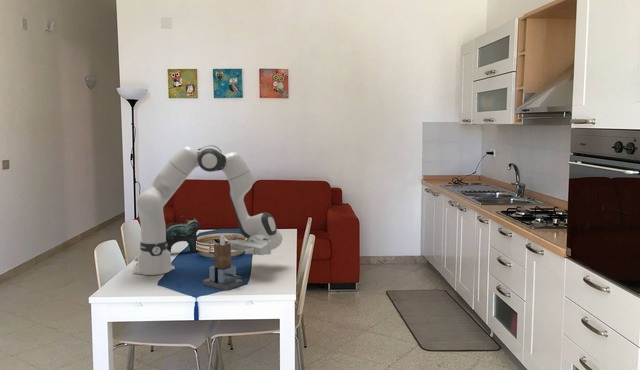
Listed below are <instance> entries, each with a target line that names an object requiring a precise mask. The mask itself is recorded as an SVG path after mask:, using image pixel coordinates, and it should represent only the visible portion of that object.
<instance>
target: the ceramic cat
mask: <svg viewBox="0 0 640 370" xmlns="http://www.w3.org/2000/svg"><path fill="white" fill-rule="evenodd" d="M183 217H186V218H187V219H185V223H178V222H176V224H175V222H172V223H169V224H167V225H166V241H167V250H168V251H169V252H170V253H171V254H172V248H173V246H174V245H175V244H177V243H180V242H186V243H187V245H188V247H189V251H190V252H191V253H197V252H196V241H197V242H198V235H197V233H198V231H199V230H200V223H199V222H198V219H197V217H194V218H193V220H189V218H188V216H187V215H182V216H180V219H182V218H183ZM173 224H174V225H173Z"/></svg>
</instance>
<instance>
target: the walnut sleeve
mask: <svg viewBox="0 0 640 370" xmlns="http://www.w3.org/2000/svg"><path fill="white" fill-rule="evenodd" d="M213 258H214V259H213V266H214V267H217V268H221V269H224V268H227V267H230V266H231V265H232V251H231V243H228V242H225V245H220V242H218V243H217V242H216V243H213Z"/></svg>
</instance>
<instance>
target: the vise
mask: <svg viewBox="0 0 640 370" xmlns="http://www.w3.org/2000/svg"><path fill="white" fill-rule="evenodd" d="M225 235H226V234H224V233H222V234H221V233H220V234H219V243H220V245H225V243H226V237H225ZM208 274H209V278H205V279H203V280H202V286H207V287H210V286H211V288H214V287H215V288H216V289H219V290H224V291H230V290H233V289H235V288H238V287H240V286H243V285H244V280H243V279H241V278H242V276H241V275H237V266H236V265H232V264H231V266H230V267H227V268H224V269H221V268H217V267H214V265H212V266H209V272H208ZM215 288H214V289H215Z"/></svg>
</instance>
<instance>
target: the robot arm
mask: <svg viewBox="0 0 640 370" xmlns="http://www.w3.org/2000/svg"><path fill="white" fill-rule="evenodd" d="M199 167H200V169H201V170H203V171H204V172H210V173H211V172H212V173H213V172H217V171H218V172H219V171H222V172H223V173H224V175H225V177H226V179H227V181H228V183H229V189H230V190H229V194H228V195H229V199H230V201H231V204H232V208H233V210H234V214H235V217H236V219H237V223H238V228H239V232H240V234H241V235H242V236H243V237H244V238H245V239H233V240H229V241H228V242H227V243H231V252H232V251H236V252H242V253H243V254H244V255H248V254H252V255H254V256H255V255H257V256H264V255H271V254H272V250H276V249H277V248H278V247H279V246H281V245H282V242H283V235H282V232H280V231H279V230H278V228H277V224H276V223H277V222H276V220H275V218H274V216H272V214H270V213H269V212H266V211H265V212H262V213H259V214H258V213H257V214H256V215H252V216H251V215H250V214H249V213H248V210H247V207H246V205H245V204H246V203H245V201H244V199H245V196H246V194H247V193H248V192H249V191H251V189H252V188H253V185H254V177H253V174H252V173H251V170H250V168H249V166H248V165H247V162H246V161H245V159H244V158H243V157H242V156H241V154H240V153H239V152H236V151H231V152H228V153H223V152H222V150H221V148H219V147H218V146H216V145H212V144H211V145H209V144H208V145H206V146H203V147H201V148H198V149H195V148H194V147H192V146H190V145H184V146H182V147H181V148H180V149H178V150H177V151H176V152H175V153H174V154H173V155H172V157H170V159H169V160H168V161H167V162H166V163H165V165H163V167H162V168H161V170H160V171H159V172H158V173H157V175H156V176H155V178H154V179H153V181H151V183H150V185H149V186H148V187H147V188H146V189H145V190H144V191H142V192H141V193H140V194H139V195H138V197H137V199H136V201H137V202H136V205H137V210H138V211H137V212H138V218H139V222H140V224H139V225H140V244H139V250H140V251H139V252H138V255H137V256H134V262H136V263H134V264H133V271H132V272H133V273H132V274H134V275H144V276H156V275H164V274H168V273H169V272H171V271H172V270H173V271H174V270H175V269H176V268H175V266H174V265H173V264H172V256H171V255H172V252H171V253H170V252H169V251H168V250H167V241H166V229H167V228H166V226H167V225H166V221H165V220H166V219H165V216H164V215H165V214H164V206H165V205H166V204H167V203H168V201H170V199H171V198H172V197H173V195H174V194H175V193H176V192H177V190H178V189H179V188H180V187H181V185H182V184H183V183H184V182H185V181H186V179H187V178H188V177H189V175H190V174H191V173H192V172H193V171H194V170H195V169H196V168H199ZM246 239H247V240H246Z"/></svg>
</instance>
